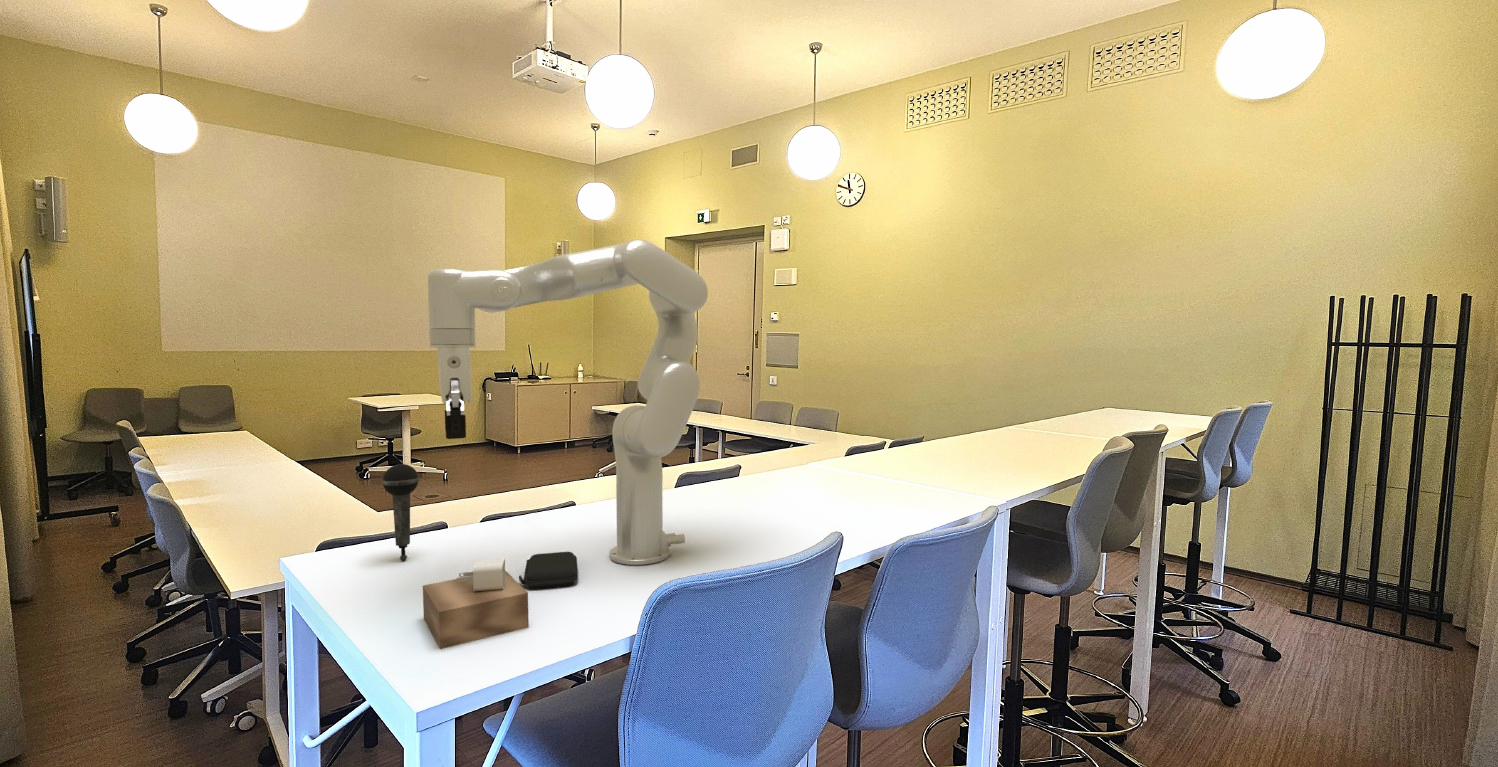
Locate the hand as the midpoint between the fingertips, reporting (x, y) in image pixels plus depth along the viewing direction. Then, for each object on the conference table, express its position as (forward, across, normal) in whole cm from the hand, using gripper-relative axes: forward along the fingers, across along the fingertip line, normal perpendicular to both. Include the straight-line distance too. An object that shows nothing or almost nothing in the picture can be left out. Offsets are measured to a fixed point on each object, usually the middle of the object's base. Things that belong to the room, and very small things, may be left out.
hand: (455, 434), depth 121 cm
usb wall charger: (+23, -17, -3) cm, 29 cm away
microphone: (+28, +21, +10) cm, 37 cm away
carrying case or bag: (+29, 0, -16) cm, 33 cm away
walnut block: (+29, -17, -2) cm, 34 cm away
